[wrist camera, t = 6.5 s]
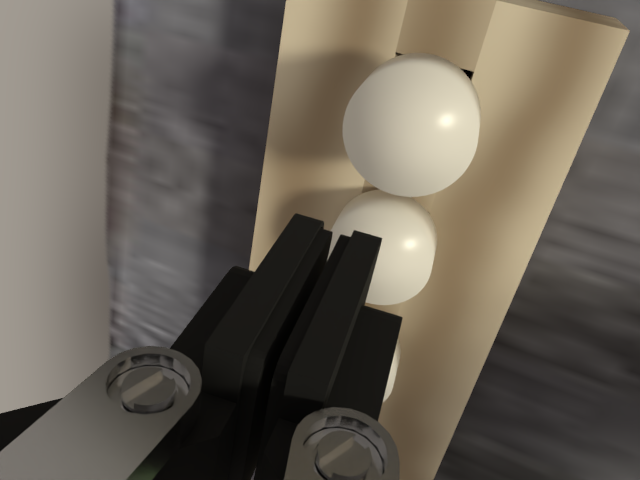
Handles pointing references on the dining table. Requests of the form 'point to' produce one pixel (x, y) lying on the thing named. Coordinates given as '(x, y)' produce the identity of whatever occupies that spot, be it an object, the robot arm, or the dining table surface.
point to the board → (460, 197)
